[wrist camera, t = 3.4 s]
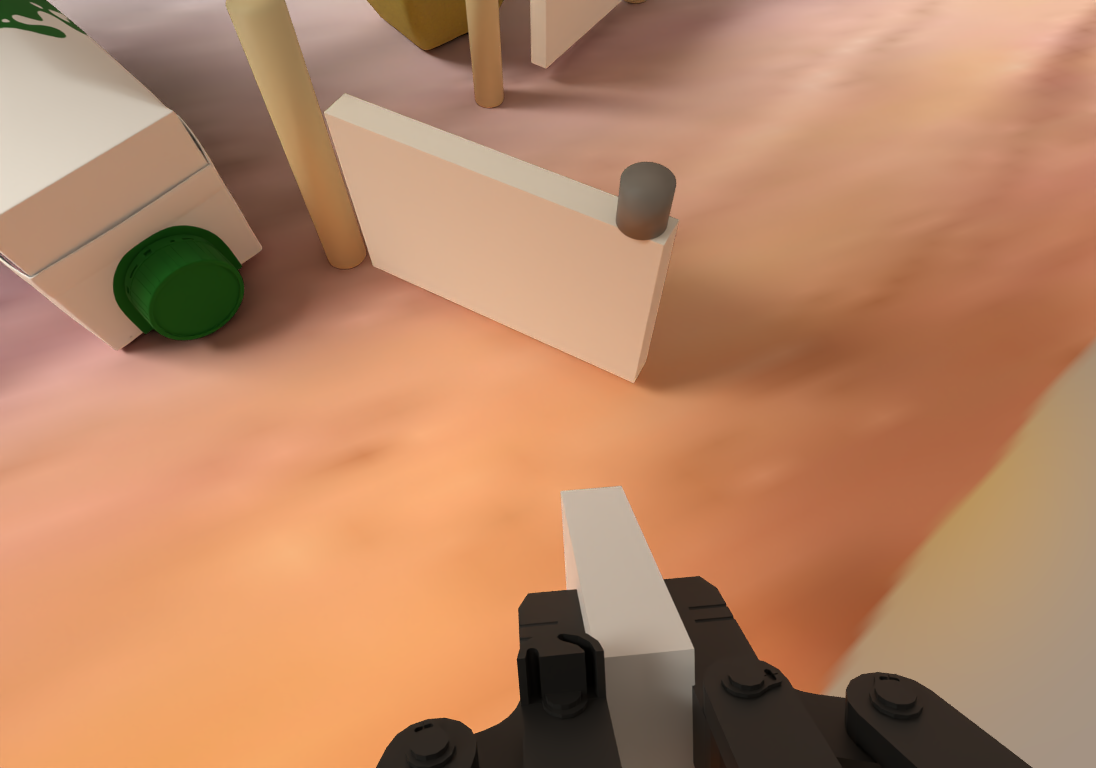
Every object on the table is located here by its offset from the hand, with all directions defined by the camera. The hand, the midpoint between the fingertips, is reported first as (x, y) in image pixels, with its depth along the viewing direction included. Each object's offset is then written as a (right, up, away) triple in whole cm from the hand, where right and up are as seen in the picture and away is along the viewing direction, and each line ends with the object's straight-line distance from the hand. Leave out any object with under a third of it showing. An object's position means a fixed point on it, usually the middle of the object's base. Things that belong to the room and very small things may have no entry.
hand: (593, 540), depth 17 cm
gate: (-3, +7, +12) cm, 15 cm away
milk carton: (-30, +20, +17) cm, 40 cm away
